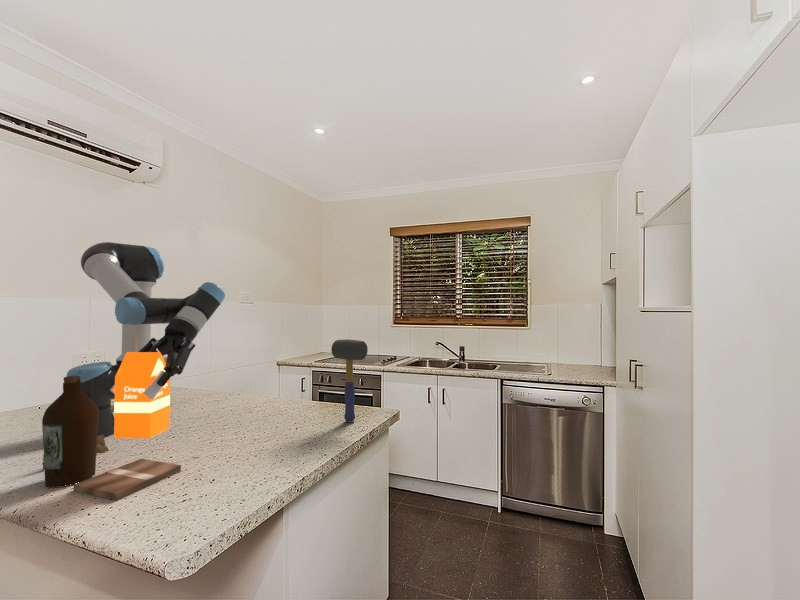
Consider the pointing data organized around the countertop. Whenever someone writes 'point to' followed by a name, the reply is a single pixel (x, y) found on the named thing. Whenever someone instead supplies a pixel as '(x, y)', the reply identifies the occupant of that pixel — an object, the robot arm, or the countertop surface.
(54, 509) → the countertop surface
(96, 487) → the board
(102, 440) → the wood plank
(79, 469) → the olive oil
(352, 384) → the rubber mallet
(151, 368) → the orange juice
